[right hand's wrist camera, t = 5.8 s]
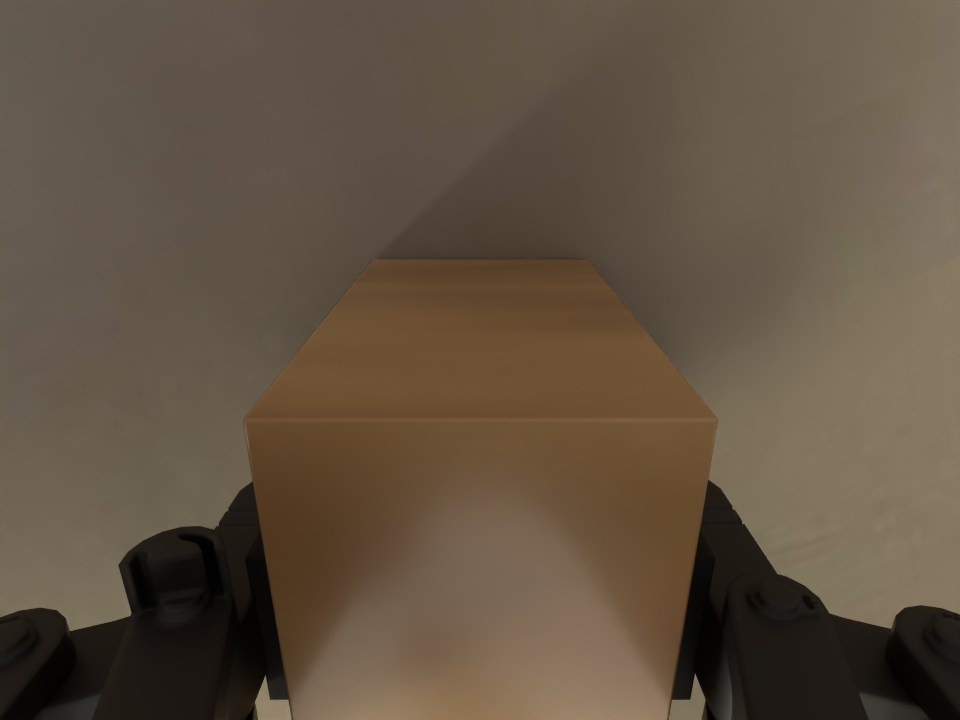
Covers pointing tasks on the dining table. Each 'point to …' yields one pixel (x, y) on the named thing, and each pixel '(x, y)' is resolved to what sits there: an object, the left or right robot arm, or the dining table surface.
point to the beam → (480, 499)
